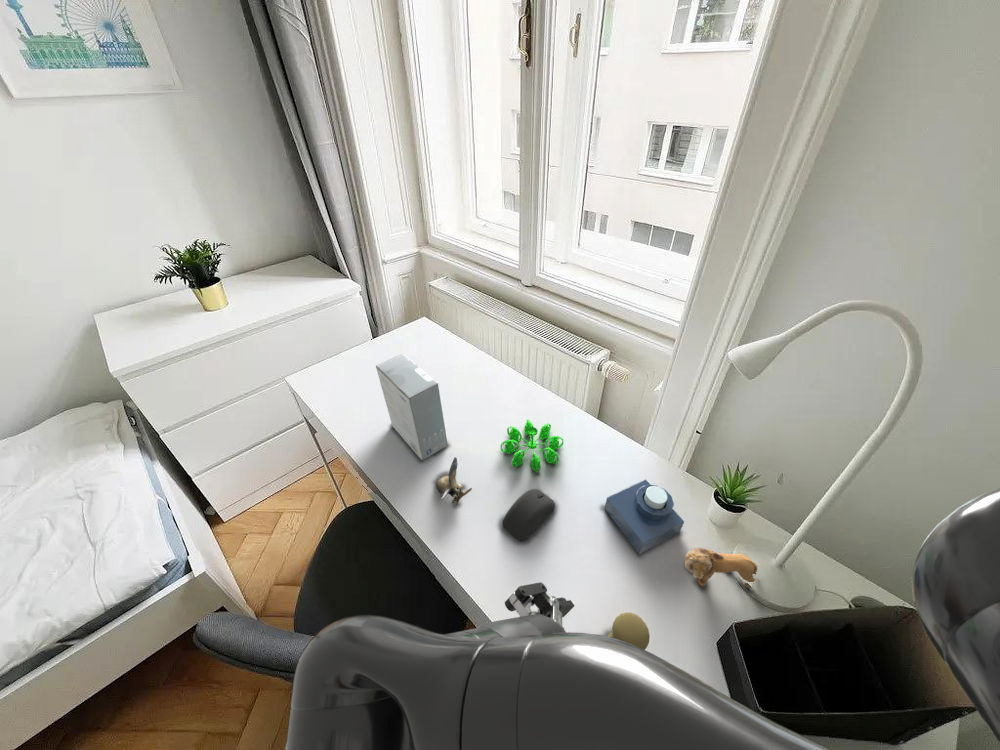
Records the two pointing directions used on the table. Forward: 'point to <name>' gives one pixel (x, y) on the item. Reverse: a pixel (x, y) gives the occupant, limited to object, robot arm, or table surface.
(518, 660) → the robot arm
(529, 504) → the computer mouse
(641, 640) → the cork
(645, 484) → the button base
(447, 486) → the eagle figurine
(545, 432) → the chandelier
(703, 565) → the lion figurine
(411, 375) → the hard drive box
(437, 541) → the table surface
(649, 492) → the white button cap
